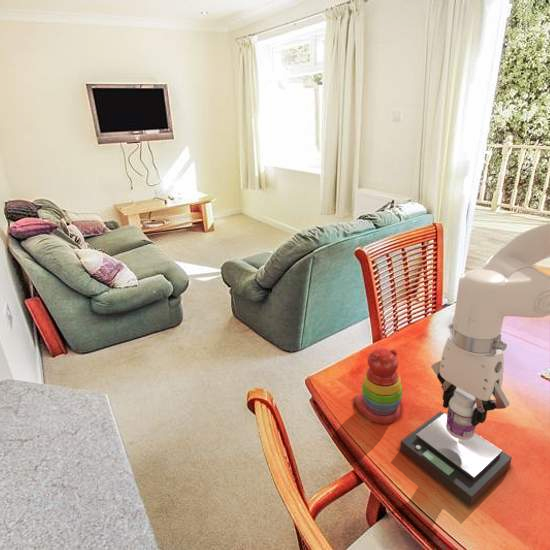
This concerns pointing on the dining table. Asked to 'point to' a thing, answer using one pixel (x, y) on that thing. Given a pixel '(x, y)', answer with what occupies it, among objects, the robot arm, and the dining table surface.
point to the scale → (452, 468)
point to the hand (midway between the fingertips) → (462, 412)
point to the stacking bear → (381, 387)
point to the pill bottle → (461, 415)
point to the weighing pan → (459, 448)
